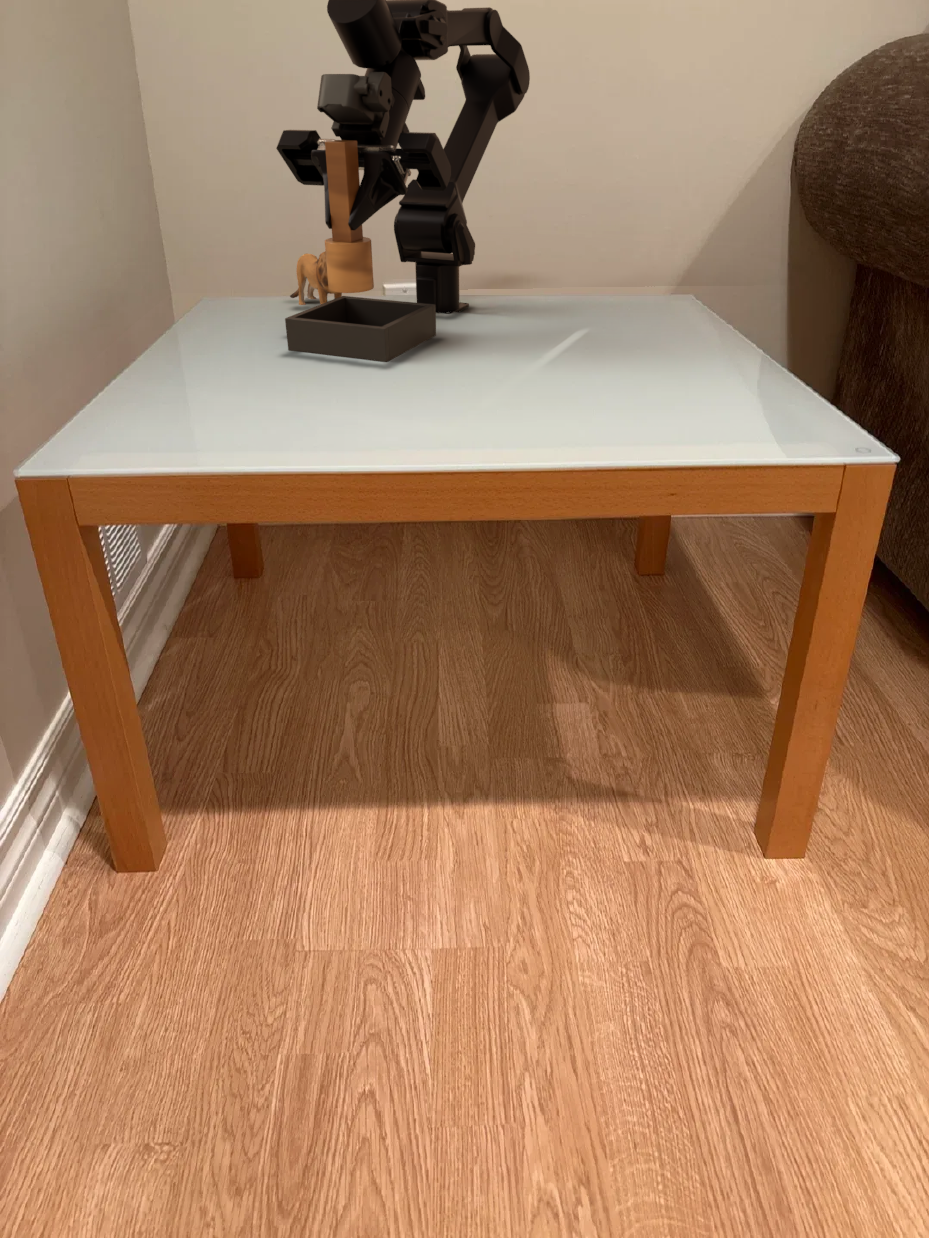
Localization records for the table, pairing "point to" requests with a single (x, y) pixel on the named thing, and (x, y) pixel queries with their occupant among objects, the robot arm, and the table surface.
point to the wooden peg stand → (345, 223)
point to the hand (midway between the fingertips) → (339, 227)
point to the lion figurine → (313, 278)
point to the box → (361, 328)
